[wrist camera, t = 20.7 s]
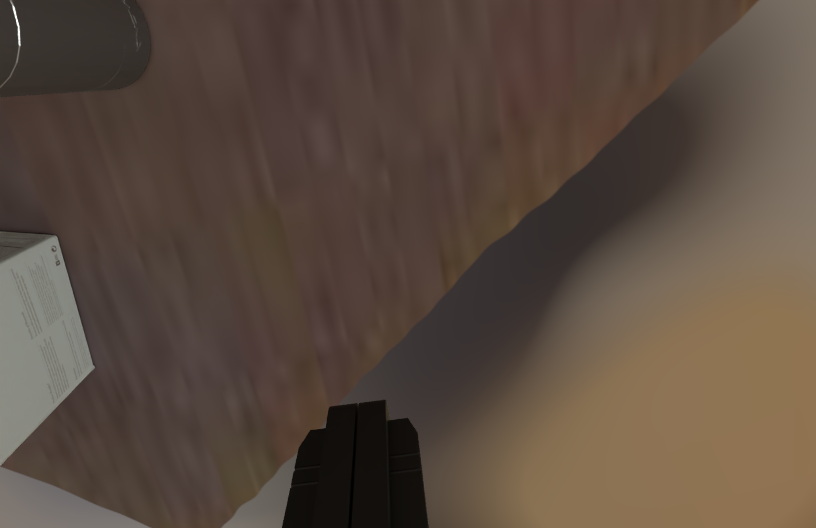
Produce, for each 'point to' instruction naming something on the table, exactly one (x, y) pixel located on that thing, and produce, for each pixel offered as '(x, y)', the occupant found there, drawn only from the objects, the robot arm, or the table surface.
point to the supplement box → (36, 335)
